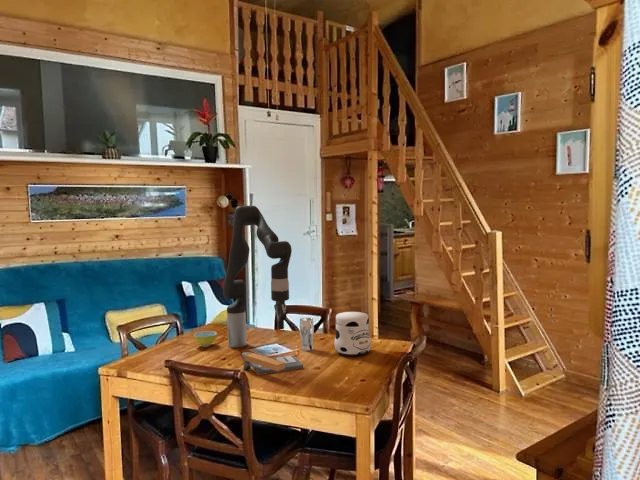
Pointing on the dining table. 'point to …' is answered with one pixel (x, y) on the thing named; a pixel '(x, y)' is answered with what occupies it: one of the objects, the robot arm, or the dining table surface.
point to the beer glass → (307, 333)
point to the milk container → (352, 333)
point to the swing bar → (263, 361)
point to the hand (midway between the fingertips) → (281, 328)
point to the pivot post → (247, 365)
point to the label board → (289, 361)
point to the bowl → (205, 338)
